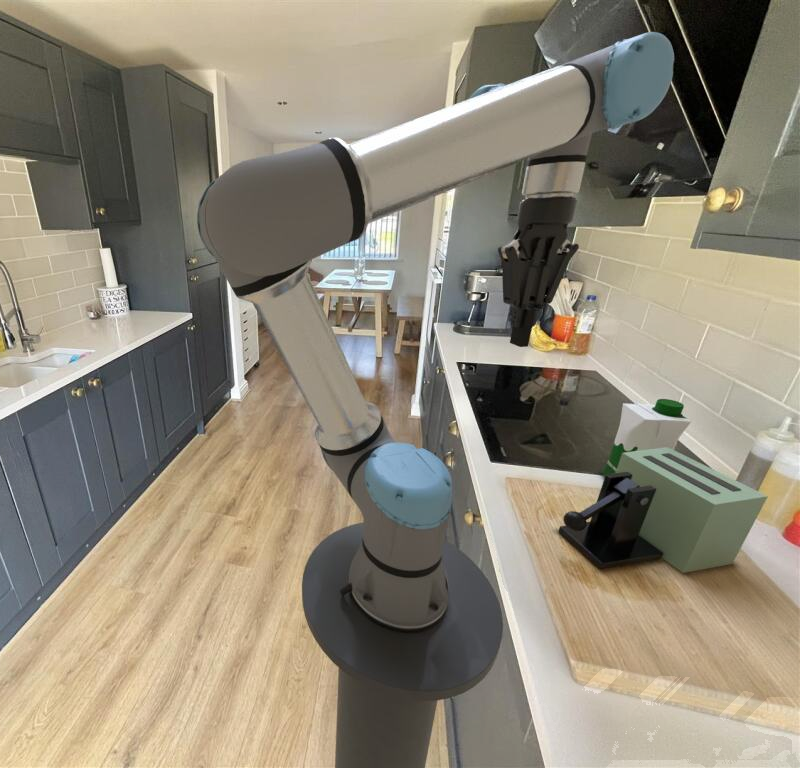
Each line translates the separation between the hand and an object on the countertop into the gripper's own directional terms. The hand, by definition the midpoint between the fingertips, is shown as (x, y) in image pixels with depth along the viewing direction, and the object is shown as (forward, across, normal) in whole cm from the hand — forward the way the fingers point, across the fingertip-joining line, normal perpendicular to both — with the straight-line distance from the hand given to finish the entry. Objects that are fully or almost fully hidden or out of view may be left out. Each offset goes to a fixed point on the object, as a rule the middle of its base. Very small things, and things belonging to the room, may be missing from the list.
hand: (518, 344), depth 70 cm
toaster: (+34, -25, +15) cm, 45 cm away
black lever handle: (+26, -10, +15) cm, 32 cm away
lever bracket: (+34, -14, +15) cm, 40 cm away
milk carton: (+35, -34, +1) cm, 48 cm away
